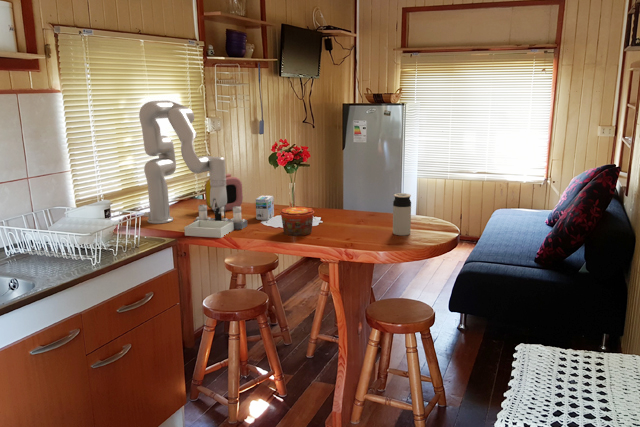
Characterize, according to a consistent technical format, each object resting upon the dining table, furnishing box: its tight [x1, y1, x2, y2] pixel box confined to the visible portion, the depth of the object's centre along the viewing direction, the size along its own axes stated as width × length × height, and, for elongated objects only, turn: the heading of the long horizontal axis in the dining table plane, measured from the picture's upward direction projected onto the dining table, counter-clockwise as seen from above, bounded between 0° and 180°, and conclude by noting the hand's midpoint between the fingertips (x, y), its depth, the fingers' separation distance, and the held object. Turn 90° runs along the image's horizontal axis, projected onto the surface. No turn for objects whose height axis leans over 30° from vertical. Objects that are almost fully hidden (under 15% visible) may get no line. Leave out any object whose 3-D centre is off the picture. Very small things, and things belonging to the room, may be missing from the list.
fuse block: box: [193, 216, 248, 230], centre depth 263 cm, size 25×7×4 cm, turn 76°
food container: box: [279, 206, 315, 237], centre depth 250 cm, size 16×16×11 cm
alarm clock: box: [204, 173, 244, 212], centre depth 299 cm, size 18×11×19 cm, turn 132°
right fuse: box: [232, 206, 243, 223], centre depth 260 cm, size 4×4×10 cm
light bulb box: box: [255, 195, 275, 221], centre depth 279 cm, size 11×7×11 cm, turn 168°
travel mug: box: [392, 192, 412, 236], centre depth 245 cm, size 8×8×18 cm
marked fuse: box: [216, 206, 224, 221], centre depth 262 cm, size 4×4×10 cm
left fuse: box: [197, 204, 208, 220], centre depth 265 cm, size 4×4×10 cm
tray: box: [183, 220, 235, 239], centre depth 252 cm, size 18×14×4 cm
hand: (220, 219), depth 263 cm, fingers closed on marked fuse, 3 cm apart
